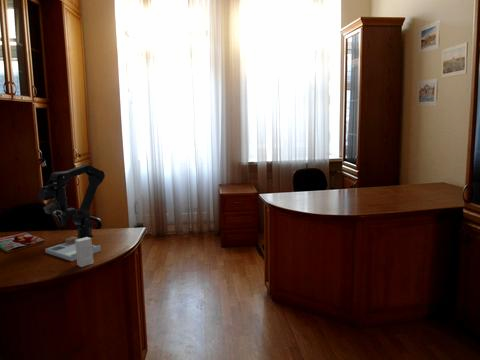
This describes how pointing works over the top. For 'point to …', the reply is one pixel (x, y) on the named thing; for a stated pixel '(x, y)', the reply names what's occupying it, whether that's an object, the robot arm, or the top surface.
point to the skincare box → (84, 251)
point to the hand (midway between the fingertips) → (62, 226)
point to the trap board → (67, 251)
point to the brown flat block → (70, 240)
